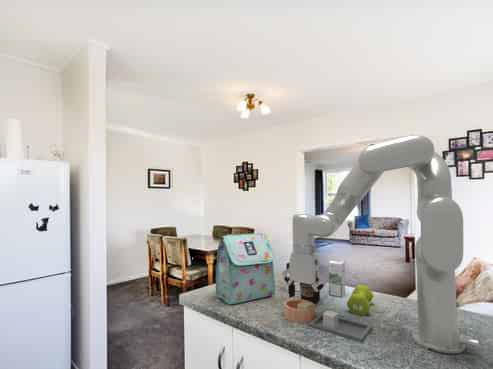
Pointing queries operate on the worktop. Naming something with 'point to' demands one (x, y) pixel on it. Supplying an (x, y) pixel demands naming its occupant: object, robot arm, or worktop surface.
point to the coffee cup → (307, 292)
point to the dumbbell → (360, 300)
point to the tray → (344, 328)
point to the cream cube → (304, 305)
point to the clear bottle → (337, 278)
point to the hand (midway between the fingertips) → (303, 299)
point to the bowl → (298, 311)
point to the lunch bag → (244, 268)
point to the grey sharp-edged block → (330, 319)
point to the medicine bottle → (297, 284)
